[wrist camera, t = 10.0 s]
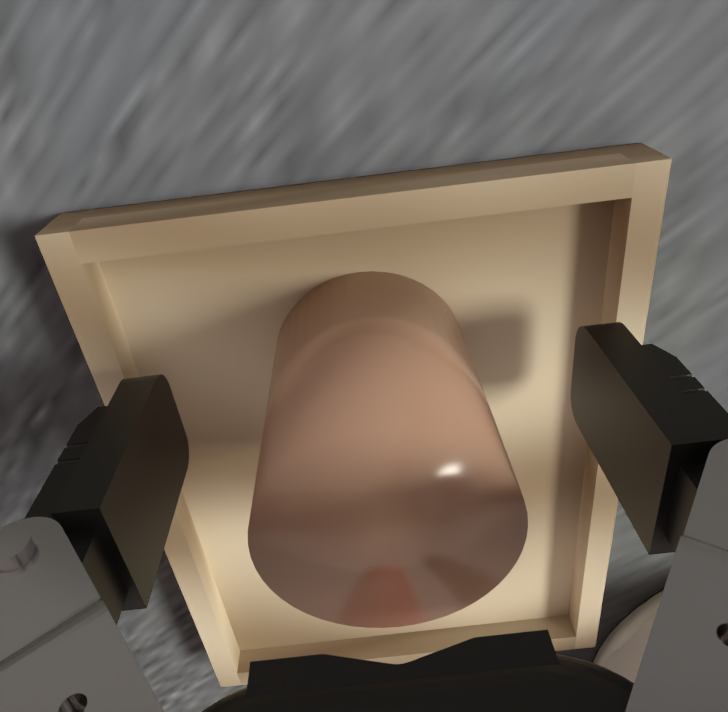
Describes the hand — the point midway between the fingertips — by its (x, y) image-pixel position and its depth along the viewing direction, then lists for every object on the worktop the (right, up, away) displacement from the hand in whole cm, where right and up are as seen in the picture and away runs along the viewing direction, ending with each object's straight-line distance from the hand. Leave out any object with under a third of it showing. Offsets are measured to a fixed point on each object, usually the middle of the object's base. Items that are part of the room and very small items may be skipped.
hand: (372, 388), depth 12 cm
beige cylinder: (0, +1, +1) cm, 1 cm away
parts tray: (0, -2, +3) cm, 4 cm away
